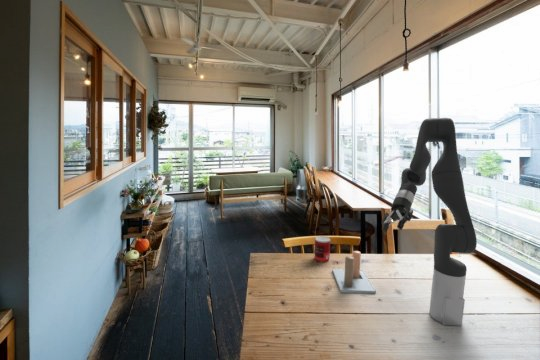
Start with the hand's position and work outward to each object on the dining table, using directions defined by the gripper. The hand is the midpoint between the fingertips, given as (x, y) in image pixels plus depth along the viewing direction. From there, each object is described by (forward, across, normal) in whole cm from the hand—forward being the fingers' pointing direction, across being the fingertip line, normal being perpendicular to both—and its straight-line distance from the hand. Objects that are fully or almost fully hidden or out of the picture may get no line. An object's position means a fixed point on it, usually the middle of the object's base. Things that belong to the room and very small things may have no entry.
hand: (391, 230), depth 117 cm
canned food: (+15, -37, -4) cm, 40 cm away
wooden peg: (+20, -17, +5) cm, 27 cm away
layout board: (+23, -15, +3) cm, 28 cm away
